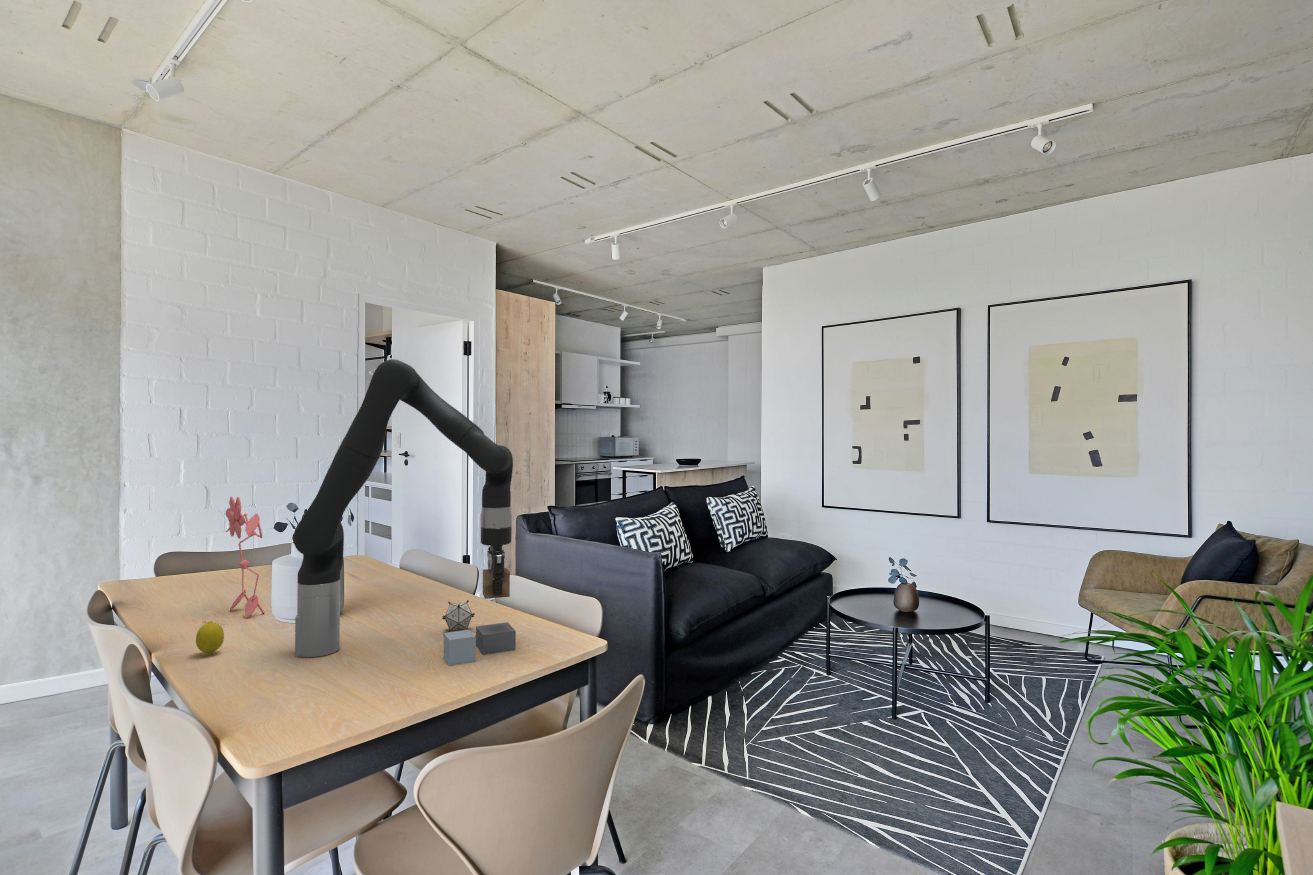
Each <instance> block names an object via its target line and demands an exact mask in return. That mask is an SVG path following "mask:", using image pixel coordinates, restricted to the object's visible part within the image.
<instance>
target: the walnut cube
mask: <svg viewBox="0 0 1313 875" xmlns="http://www.w3.org/2000/svg"><path fill="white" fill-rule="evenodd" d="M496 574H500V571H496ZM510 577H511V573H510V571H509V569H508V568H507V567H505V568H504V578H503V579H502V594H501V595H493V579H492V571H490V569H488V568H486V569H485V568H484V569H483V568H482V595H483V599H485V600H487V599H499V598H510V595H511V594H510V592H511V591H510V590H511V588H510V587H511V578H510Z"/></svg>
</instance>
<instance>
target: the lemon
mask: <svg viewBox="0 0 1313 875" xmlns="http://www.w3.org/2000/svg"><path fill="white" fill-rule="evenodd" d="M219 624H220V623H217V622H215V621H214V622H213V620H210V621H208V622H207V623H206V622H205V624H203V625H202V626H201V627H199V629H198V630H197V633H196V636H195V644H196V647H197V649H198V650H199V651H200V652H203V653H206V654H207V655H208V656H209V655H212V654H213V653H214V652H215V651H218V649H220V647H222V645H223V643H224V639H225V632H224V628H223V627H222V626H221V625H219Z"/></svg>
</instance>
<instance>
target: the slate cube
mask: <svg viewBox="0 0 1313 875" xmlns="http://www.w3.org/2000/svg"><path fill="white" fill-rule="evenodd" d="M443 659H444V661H445V663H447V666H448V667H449V666H457V665H462V664H468V663H473V662H474V663H475V662H476V634H474V633H473V631H472V630H471V629H468V630H466V629H464V630H454V631H450V632H448V631H447V632H443Z"/></svg>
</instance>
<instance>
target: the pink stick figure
mask: <svg viewBox="0 0 1313 875" xmlns="http://www.w3.org/2000/svg"><path fill="white" fill-rule="evenodd" d="M241 502H242V501H241V498H240V497H239V496H237V497H236V499H235V498H234V497H233V496H230V497H229V501H228V505H229V507H228V508H226V510H225V516H226V518H227V520H228V524H229V527H228V528H227V530H226V531H225V532H226V533H228V532H229V534H230V536H231V537H234V536H235V535H236V538H238V539H239V540H240V539H241V537H242V526H244V525H245V529H244V532H245V533H246V534H245V535H247V536H246V537H245V538H244V539H241V540H240V541H239V543H238V544H237V545H238V549H239V554H240V558H241V560H240V561H239V562H238V567H239V568H240V569H241V577H242V578H241V581H242V582H241V585H242V586H241V590H242V591H241V593H240V594H239V595H238V596H237V598H236V599H235V600H234V601H233V602H232V604H231V606H230V608H229V609H230V611H232V610H233V609H234V608H236V606H237V605H238V604H239V603H240V602H241V601H242V599H243V598H245V600H246V603H245V604H244V616H245V619H248V618H249V617H250V616H251V615H252V614H253V613H254V612H255V610H256V609H257V608H258V609H259V610H260V612H261V614H263V613H265V611H264V610H263V608H262V607H261V605H260V603H259V596H258V595H257V594H256V592H257V591H256V590H257V585H258V581H259V576H260V575H259V573H257V572H255V571H254V570H252V569H251V568H249V566H250V561H249V560H247V559H244V557H243V551H242V545H241V544H242V543H243V542H245V541H246V540H248V539H250V538H252V537H253V536H256V537H258V538H260V539H263V533H262V528H261V525H260V520H261V519H260V516H259V514H258V513H254V515H252V516H251V517H250V518H248V513H244V514H242V503H241ZM257 528H258V533H259V534H258V533H257V531H256V529H257ZM245 569H247V571H250V572H251V573H253V574H255V575H256V580H255V584H254V589H253V595H252V596H250V598H249V597H248V596H247V594H246V593H247V589H245V590H244V572H245V571H244V570H245Z"/></svg>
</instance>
